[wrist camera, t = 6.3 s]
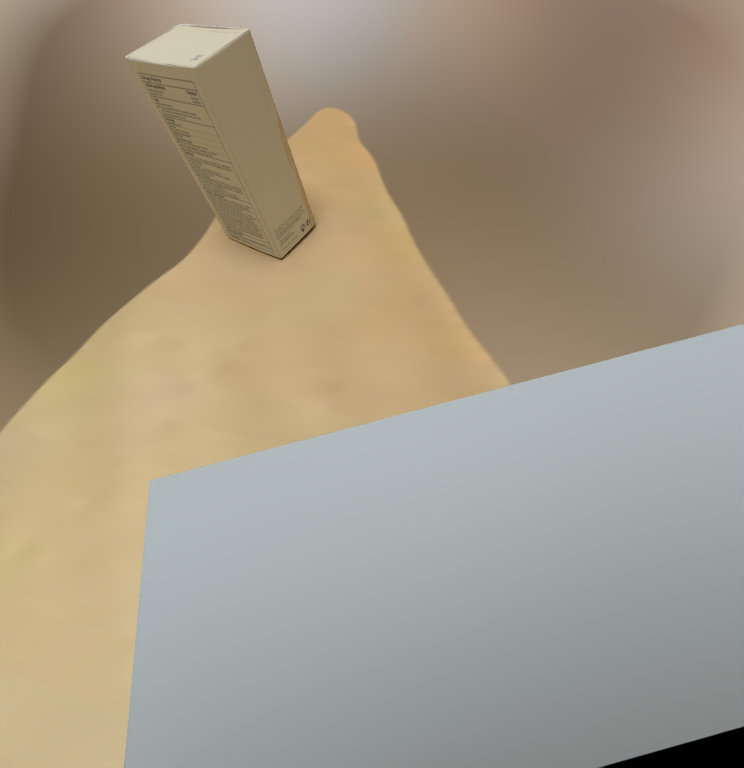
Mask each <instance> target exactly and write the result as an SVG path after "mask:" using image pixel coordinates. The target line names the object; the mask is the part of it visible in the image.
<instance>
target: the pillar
mask: <svg viewBox="0 0 744 768" xmlns="http://www.w3.org/2000/svg"><path fill="white" fill-rule="evenodd" d="M124 768H744V324H742V325H738V326H735V327H731V328H727V329H724V330H719V331H716V332H712V333H708V334H705V335H700V336H697V337H693V338H689V339H685V340H682V341H678V342H674V343H670V344H666V345H662V346H659V347H655V348H651V349H647V350H643V351H640V352H636V353H633V354H628V355H625V356H621V357H617V358H613V359H609V360H606V361H602V362H598V363H594V364H591V365H587V366H583V367H579V368H575V369H571V370H568V371H564V372H560V373H557V374H552V375H549V376H545V377H541V378H537V379H534V380H530V381H526V382H522V383H519V384H515V385H511V386H507V387H503V388H499V389H496V390H492V391H488V392H484V393H480V394H477V395H473V396H469V397H465V398H461V399H458V400H454V401H450V402H446V403H443V404H439V405H435V406H431V407H427V408H424V409H420V410H416V411H412V412H408V413H405V414H401V415H397V416H393V417H389V418H386V419H382V420H378V421H374V422H371V423H367V424H363V425H359V426H355V427H352V428H348V429H344V430H340V431H336V432H333V433H329V434H325V435H321V436H317V437H314V438H310V439H306V440H302V441H298V442H295V443H291V444H287V445H283V446H280V447H276V448H272V449H268V450H264V451H261V452H257V453H253V454H249V455H245V456H242V457H238V458H234V459H230V460H226V461H223V462H219V463H215V464H211V465H207V466H204V467H200V468H196V469H192V470H189V471H185V472H181V473H177V474H173V475H170V476H166V477H162V478H158V479H154V480H151V481H150V486H149V497H148V508H147V519H146V530H145V541H144V552H143V563H142V574H141V585H140V596H139V608H138V619H137V630H136V641H135V652H134V663H133V674H132V685H131V696H130V707H129V718H128V729H127V740H126V752H125V763H124Z"/></svg>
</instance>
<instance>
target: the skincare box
mask: <svg viewBox="0 0 744 768" xmlns="http://www.w3.org/2000/svg"><path fill="white" fill-rule="evenodd" d="M125 58H126V60H127V62H128V63H129V65H130V67H131V68H132V70H133V72H134V74H135V75H136V77H137V79H138V81H139V82H140V84H141V86H142V88H143V89H144V91H145V93H146V95H147V97H148V98H149V100H150V102H151V103H152V105H153V107H154V109H155V110H156V112H157V114H158V116H159V117H160V119H161V120H162V123H163V124H164V126H165V128H166V130H167V131H168V133H169V135H170V136H171V138H172V140H173V141H174V144H175V145H176V147H177V149H178V150H179V152H180V154H181V156H182V158H183V159H184V161H185V163H186V165H187V166H188V168H189V170H190V171H191V173H192V175H193V177H194V178H195V180H196V182H197V184H198V185H199V187H200V189H201V191H202V192H203V194H204V196H205V198H206V199H207V201H208V203H209V205H210V206H211V208H212V210H213V212H214V213H215V215H216V217H217V219H218V220H219V222H220V224H221V226H222V227H223V229H224V231H225V233H226V234H227V236H228V237H229V238H231V239H233V240H236V241H238V242H240V243H242V244H245V245H247V246H250V247H252V248H255V249H257V250H259V251H262V252H264V253H267V254H269V255H272V256H275V257H278V258H283V257H284V255H285V254H286V253H288V252H289V251H290V250H291V249H292V248H293V247H294V246H295V245H296V244H297V243H298V242H299V241H300V240H301V239H302V238H303V237H304V236H305V235H306V234H307V233H308V232H309V230H310V229H311V228H312V227H313V226H314V225H315V220H314V218H313V215H312V212H311V209H310V206H309V203H308V200H307V197H306V194H305V191H304V188H303V186H302V183H301V180H300V177H299V174H298V171H297V168H296V165H295V162H294V159H293V156H292V153H291V150H290V147H289V144H288V142H287V139H286V136H285V133H284V130H283V127H282V124H281V121H280V118H279V115H278V113H277V110H276V107H275V104H274V101H273V98H272V95H271V92H270V89H269V86H268V83H267V80H266V77H265V75H264V72H263V69H262V66H261V63H260V60H259V57H258V54H257V51H256V48H255V45H254V42H253V39H252V36H251V33H250V30H249V29H246V28H233V27H220V26H204V25H190V24H179V25H177V26H175V27H173V28H172V29H170V30H169V31H167V32H165V33H164V34H162V35H161V36H159V37H157V38H156V39H154V40H152V41H151V42H149V43H147V44H145V45H144V46H142V47H141V48H139V49H138V50H136V51H134V52H132V53H131V54H129V55H127V56H126V57H125Z"/></svg>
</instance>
